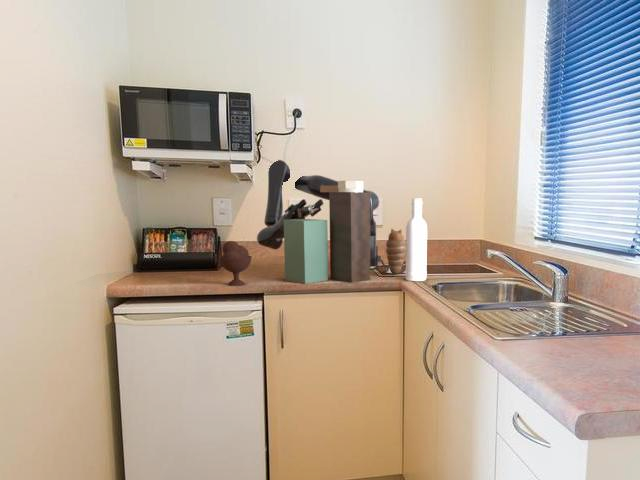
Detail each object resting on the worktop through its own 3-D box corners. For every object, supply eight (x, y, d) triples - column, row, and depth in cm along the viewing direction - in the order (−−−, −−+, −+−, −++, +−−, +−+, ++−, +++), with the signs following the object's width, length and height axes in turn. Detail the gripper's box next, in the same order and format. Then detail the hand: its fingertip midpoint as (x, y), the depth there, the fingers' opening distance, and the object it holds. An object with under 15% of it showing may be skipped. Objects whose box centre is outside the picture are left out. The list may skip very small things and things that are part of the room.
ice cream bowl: (232, 288, 170) (230, 242, 167) (213, 284, 176) (211, 240, 174) (259, 284, 178) (257, 240, 176) (240, 280, 185) (238, 239, 182)
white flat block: (331, 192, 198) (331, 181, 197) (368, 192, 186) (368, 181, 185) (313, 192, 191) (313, 181, 190) (350, 192, 179) (350, 180, 178)
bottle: (416, 277, 197) (417, 198, 193) (430, 279, 192) (432, 198, 187) (400, 279, 192) (401, 198, 187) (415, 282, 186) (416, 198, 182)
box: (308, 277, 195) (307, 219, 192) (328, 280, 189) (327, 220, 185) (285, 280, 187) (283, 219, 183) (305, 283, 180) (303, 220, 177)
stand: (349, 276, 198) (348, 192, 193) (370, 279, 191) (370, 192, 186) (330, 279, 190) (329, 192, 185) (351, 282, 183) (351, 192, 178)
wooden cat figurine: (409, 274, 206) (410, 229, 203) (397, 276, 200) (397, 230, 197) (393, 271, 211) (393, 228, 209) (380, 273, 205) (380, 228, 203)
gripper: (273, 213, 203) (295, 192, 193) (301, 212, 214) (324, 193, 204) (279, 230, 202) (302, 210, 192) (307, 228, 213) (330, 209, 203)
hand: (313, 201), depth 198 cm, fingers open, 8 cm apart
